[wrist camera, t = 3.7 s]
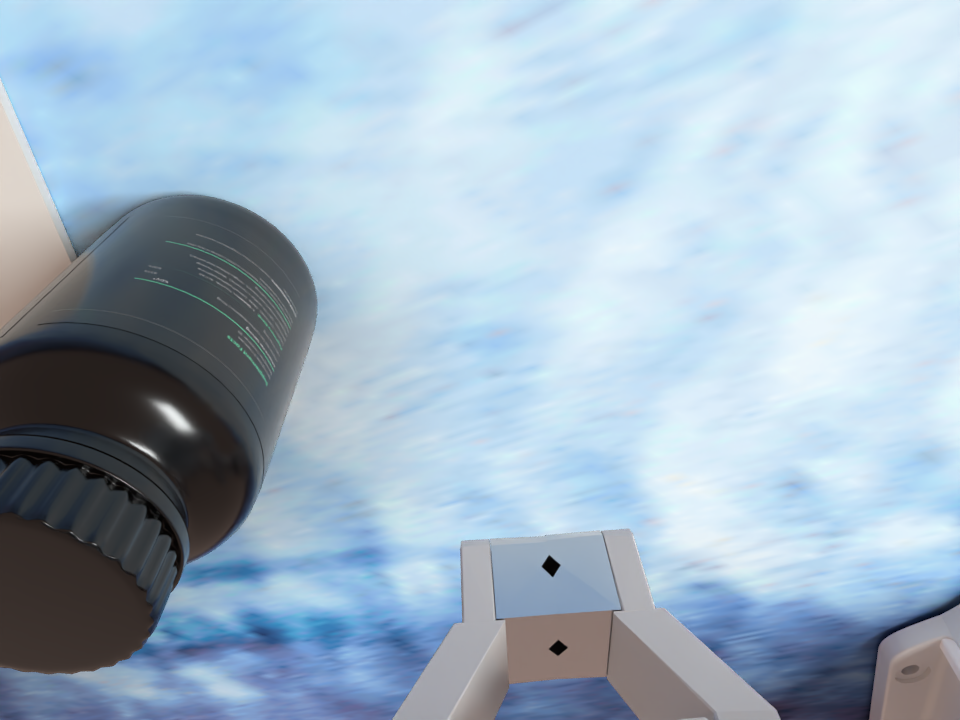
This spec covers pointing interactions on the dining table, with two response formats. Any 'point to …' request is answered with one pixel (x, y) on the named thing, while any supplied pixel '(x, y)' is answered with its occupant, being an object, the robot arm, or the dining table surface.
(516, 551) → the robot arm
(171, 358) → the supplement bottle
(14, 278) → the mat
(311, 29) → the dining table surface
